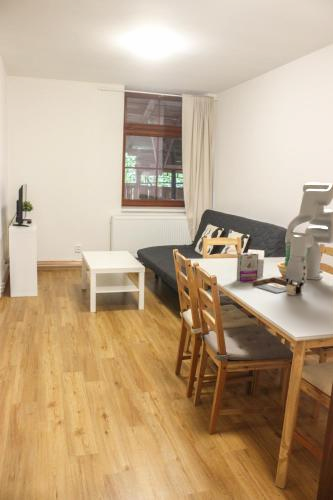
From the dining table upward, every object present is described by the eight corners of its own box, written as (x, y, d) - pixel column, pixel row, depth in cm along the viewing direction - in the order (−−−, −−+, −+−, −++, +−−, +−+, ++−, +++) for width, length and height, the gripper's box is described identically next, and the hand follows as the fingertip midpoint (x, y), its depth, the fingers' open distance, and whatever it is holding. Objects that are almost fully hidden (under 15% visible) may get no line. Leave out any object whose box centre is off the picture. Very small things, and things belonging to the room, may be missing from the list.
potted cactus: (303, 282, 256) (307, 240, 251) (276, 279, 259) (280, 238, 254) (301, 275, 270) (304, 236, 266) (275, 274, 273) (278, 234, 269)
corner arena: (273, 282, 253) (273, 277, 252) (297, 289, 240) (298, 283, 239) (252, 286, 242) (252, 281, 242) (276, 293, 229) (277, 288, 228)
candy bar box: (253, 279, 257) (255, 252, 254) (257, 281, 253) (259, 253, 250) (235, 280, 254) (237, 252, 251) (239, 282, 250) (241, 254, 247)
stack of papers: (247, 264, 299) (248, 249, 297) (263, 266, 297) (264, 250, 295) (244, 275, 268) (246, 258, 266) (262, 276, 266) (263, 259, 264)
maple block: (295, 292, 233) (296, 282, 233) (301, 293, 230) (302, 284, 230) (285, 293, 229) (287, 283, 228) (292, 295, 226) (293, 285, 225)
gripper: (315, 261, 222) (312, 295, 225) (288, 255, 235) (285, 288, 238) (306, 262, 217) (303, 297, 221) (279, 256, 230) (276, 289, 234)
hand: (294, 292), depth 229 cm, fingers closed on maple block, 4 cm apart
